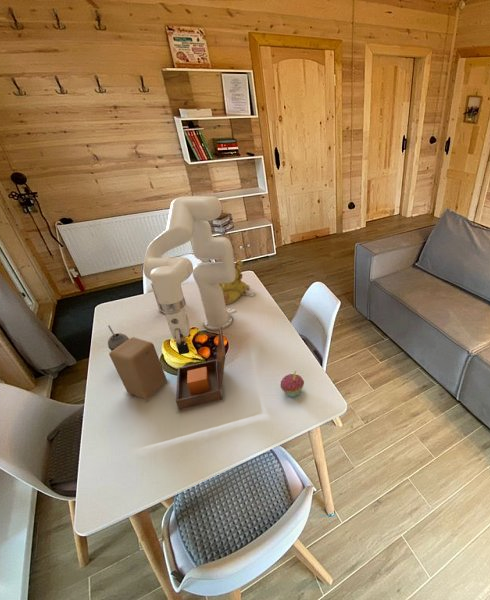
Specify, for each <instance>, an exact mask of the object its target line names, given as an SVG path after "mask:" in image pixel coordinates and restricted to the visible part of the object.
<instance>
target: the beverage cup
mask: <svg viewBox="0 0 490 600" xmlns="http://www.w3.org/2000/svg"><path fill="white" fill-rule="evenodd" d="M107 327H108V329H109V331H110V332H111V335H110V337H109V338H108V340H107V347H108V349H109V350H110V352H111V351H112V350H114V349H115V348H117V347H118V346H120V345H121V344H123V343H124V342H126V341H127V340H128V339H130V337H128V336H127V335H126V334H124V333H121V332H120V333H119V332H117V333H115V332H114V331H113V329H112V327H111V325H109V324H108V325H107Z"/></svg>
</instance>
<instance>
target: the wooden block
mask: <svg viewBox="0 0 490 600" xmlns="http://www.w3.org/2000/svg"><path fill="white" fill-rule="evenodd" d="M108 355H109V357H110V360H111V361H112V363H113V365H114V367H115V369H116V372H117V374H118V376H119V378H120V380H121V382H122V384H123V386H124V389H125V390H126V392H127V394H129V395H133V396H135V397H138V398H142V399H144V400H148V399H150V398H151V397H152V396H153V395H154V394H155V393H157V392H158V391H159V390H160V389H161V388H162V387H163V386H164V385H165V384H167V382H168V378H167V376H166V374H165V371H164V368H163V366H162V363H161V360H160V358H159V356H158V353H157V350H156V348H155V345H154V343H153V342H152V341H148V340H144V339H141V338H139V337H138V338H137V337H135V336H132V337H129V339H128V340H127V341H126V342H124V343H123V344H121V345H120V346H118V347H117V348H115V349H114V350H112V351H111V350H110V352H109V354H108Z"/></svg>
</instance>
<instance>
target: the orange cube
mask: <svg viewBox="0 0 490 600" xmlns="http://www.w3.org/2000/svg"><path fill="white" fill-rule="evenodd" d="M187 384H188V387H189V390H190V393H191V396H193V395H197V394H201V393H205V392H209V391H210V378H209V374H208V371H207V367H202V368H198V369H193V370H189V371H187Z"/></svg>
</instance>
